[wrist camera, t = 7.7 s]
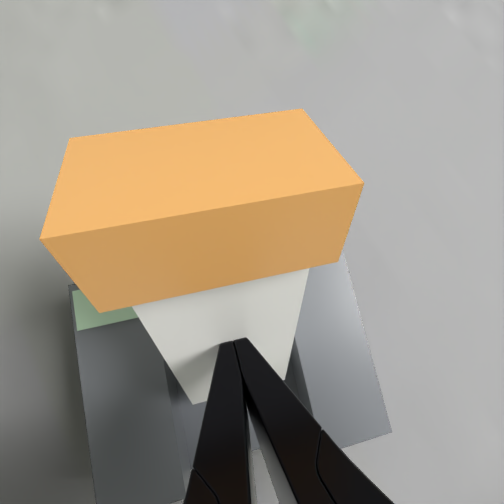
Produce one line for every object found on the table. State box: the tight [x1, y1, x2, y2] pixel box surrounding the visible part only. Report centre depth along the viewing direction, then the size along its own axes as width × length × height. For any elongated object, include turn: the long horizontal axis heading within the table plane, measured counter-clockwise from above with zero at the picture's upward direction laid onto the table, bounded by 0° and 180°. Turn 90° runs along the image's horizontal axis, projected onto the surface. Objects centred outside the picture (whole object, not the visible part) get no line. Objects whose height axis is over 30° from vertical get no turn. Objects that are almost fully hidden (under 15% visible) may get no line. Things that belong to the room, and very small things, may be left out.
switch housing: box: [68, 249, 392, 504], centre depth 14 cm, size 9×12×3 cm
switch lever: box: [40, 109, 364, 405], centre depth 9 cm, size 3×5×10 cm
